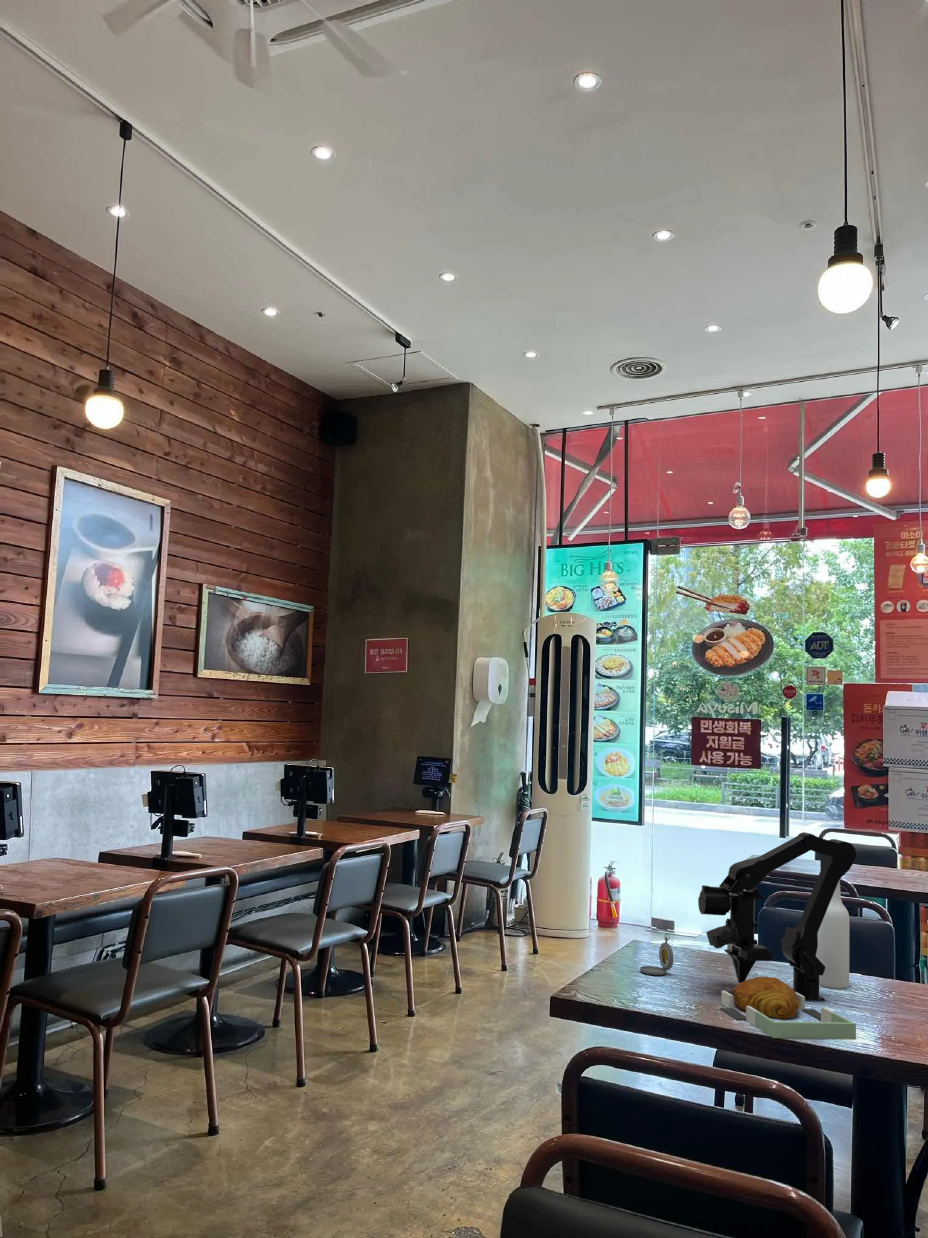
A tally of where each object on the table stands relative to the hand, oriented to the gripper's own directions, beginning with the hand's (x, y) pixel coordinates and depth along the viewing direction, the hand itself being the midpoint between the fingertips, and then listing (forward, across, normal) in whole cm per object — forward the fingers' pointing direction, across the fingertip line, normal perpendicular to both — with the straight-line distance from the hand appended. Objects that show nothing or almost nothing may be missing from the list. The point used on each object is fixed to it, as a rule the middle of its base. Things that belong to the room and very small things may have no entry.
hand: (740, 983), depth 221 cm
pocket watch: (+3, -18, -14) cm, 23 cm away
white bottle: (+3, -10, +30) cm, 32 cm away
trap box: (+2, +21, 0) cm, 21 cm away
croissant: (+3, +12, 0) cm, 13 cm away
